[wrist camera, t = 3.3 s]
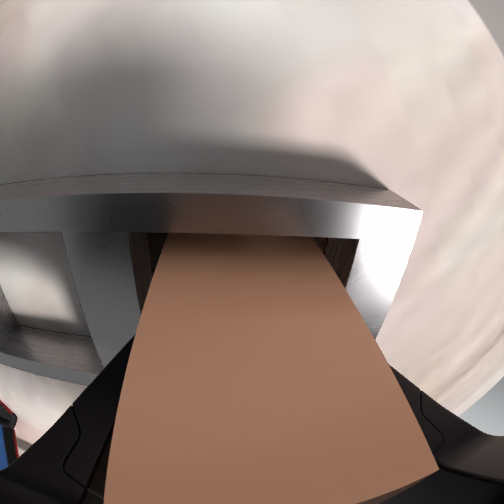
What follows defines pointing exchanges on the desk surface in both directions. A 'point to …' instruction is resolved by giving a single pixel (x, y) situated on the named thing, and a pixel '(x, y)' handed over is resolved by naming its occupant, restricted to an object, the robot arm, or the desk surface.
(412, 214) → the grey slotted tray
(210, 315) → the terracotta block
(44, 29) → the desk surface
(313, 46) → the desk surface
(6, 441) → the handheld game console
